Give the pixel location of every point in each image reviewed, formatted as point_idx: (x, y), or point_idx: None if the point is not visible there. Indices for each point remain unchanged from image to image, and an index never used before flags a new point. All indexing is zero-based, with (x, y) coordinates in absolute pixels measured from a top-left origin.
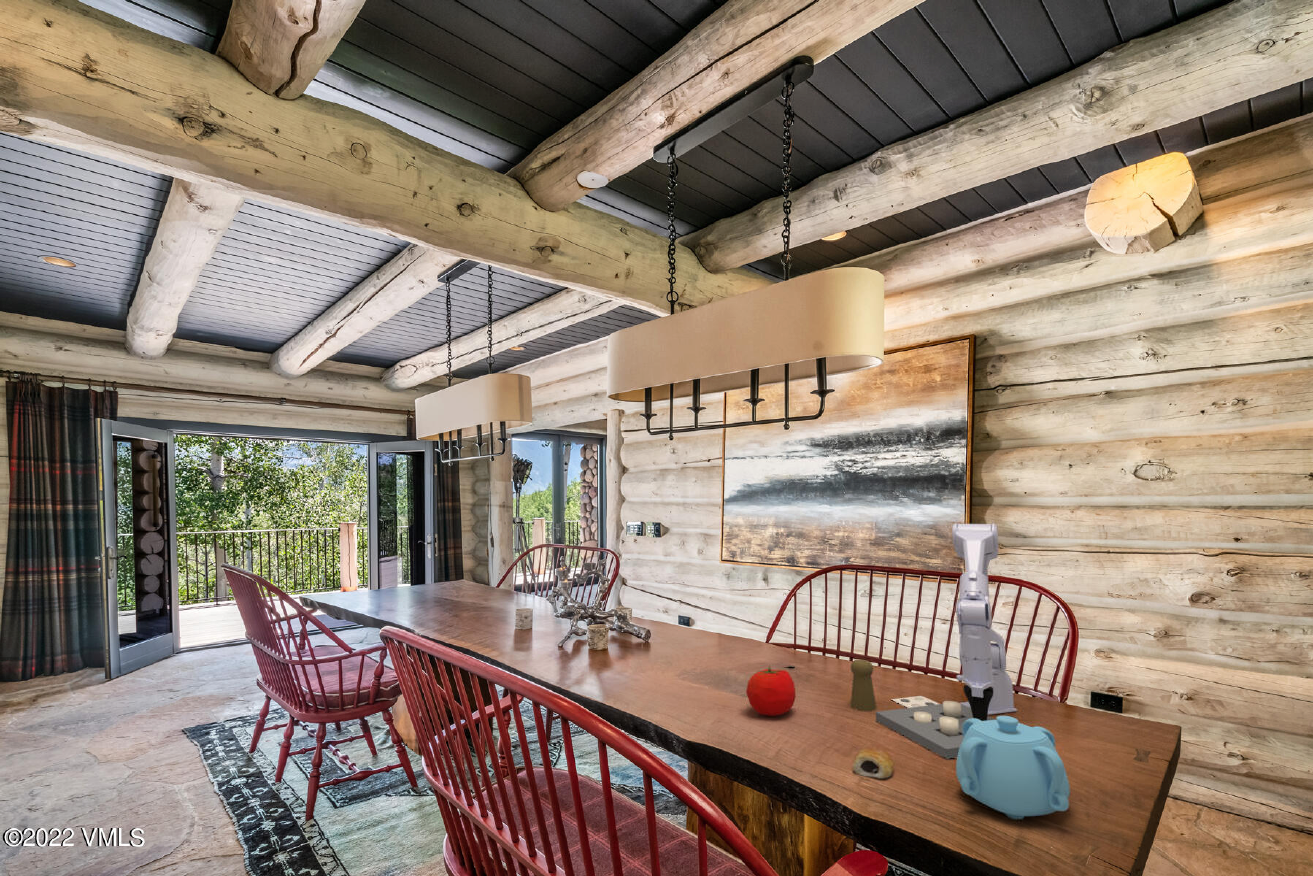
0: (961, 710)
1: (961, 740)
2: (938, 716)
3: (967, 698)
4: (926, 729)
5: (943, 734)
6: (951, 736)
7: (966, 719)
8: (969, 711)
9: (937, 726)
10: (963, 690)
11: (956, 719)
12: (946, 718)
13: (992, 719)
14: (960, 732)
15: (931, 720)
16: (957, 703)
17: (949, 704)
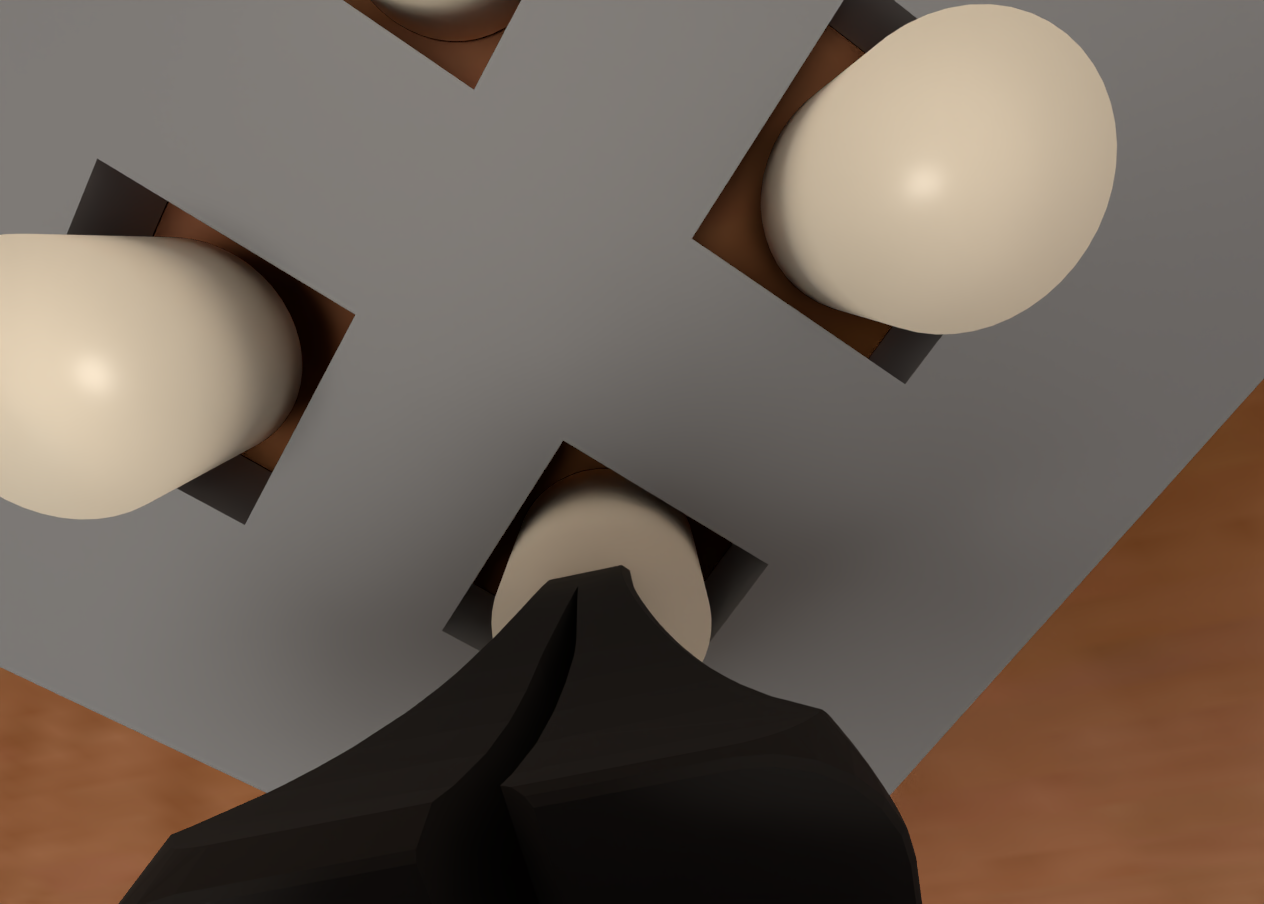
0: (1168, 243)
1: (17, 539)
2: (696, 34)
3: (308, 774)
4: (12, 66)
5: None
6: None
7: (804, 398)
8: (1173, 345)
9: (252, 162)
10: (167, 864)
11: (151, 478)
12: (63, 342)
13: (986, 632)
14: (281, 458)
15: (435, 1)
16: (1014, 265)
17: (873, 159)
